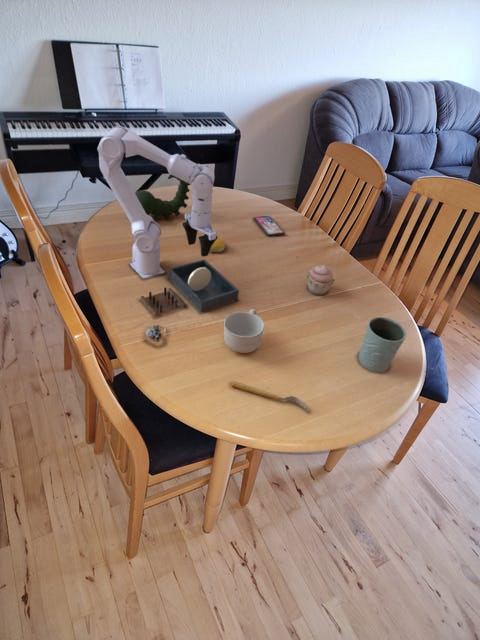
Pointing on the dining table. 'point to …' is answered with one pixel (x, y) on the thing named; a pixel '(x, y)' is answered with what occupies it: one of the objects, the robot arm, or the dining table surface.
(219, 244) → the bread roll
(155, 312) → the plate rack
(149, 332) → the oyster shell
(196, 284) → the plate
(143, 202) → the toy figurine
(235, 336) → the teacup
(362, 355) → the green cylindrical pot
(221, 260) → the dining table surface
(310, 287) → the cupcake
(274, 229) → the smartphone
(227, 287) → the dark blue tray
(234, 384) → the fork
